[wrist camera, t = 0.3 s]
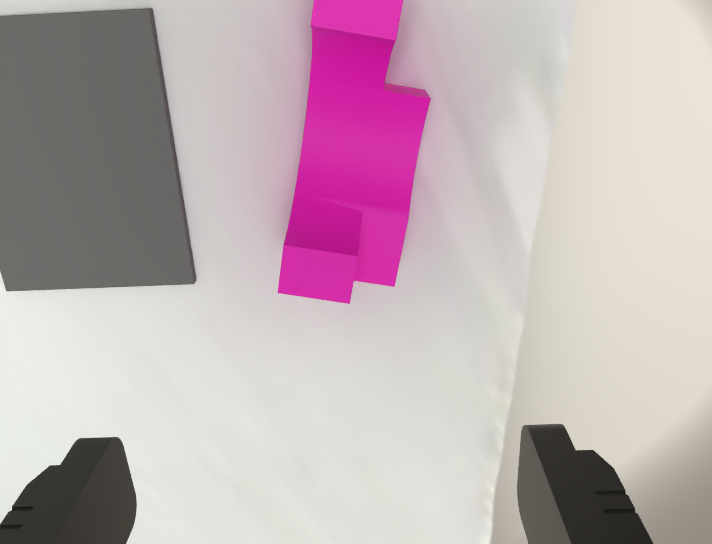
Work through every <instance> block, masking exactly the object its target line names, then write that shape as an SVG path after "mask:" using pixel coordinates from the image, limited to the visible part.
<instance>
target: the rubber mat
mask: <svg viewBox="0 0 712 544" xmlns="http://www.w3.org/2000/svg"><path fill="white" fill-rule="evenodd" d="M0 271H1V274H2V278H3V281H4V285H5V288H6V291H26V290H52V289H78V288H104V287H130V286H156V285H182V284H194V283H195V281H196V276H195V270H194V264H193V258H192V252H191V245H190V239H189V233H188V227H187V221H186V215H185V209H184V202H183V196H182V190H181V184H180V178H179V172H178V165H177V159H176V153H175V147H174V141H173V135H172V128H171V122H170V116H169V110H168V104H167V98H166V91H165V85H164V79H163V73H162V67H161V61H160V54H159V48H158V42H157V36H156V30H155V24H154V18H153V11H152V9H131V10H111V11H92V12H72V13H53V14H33V15H14V16H0Z"/></svg>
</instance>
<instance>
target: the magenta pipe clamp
mask: <svg viewBox="0 0 712 544" xmlns="http://www.w3.org/2000/svg"><path fill="white" fill-rule="evenodd" d="M402 4H403V0H314V4H313V12H312V20H311V27H312V60H311V73H310V84H309V94H308V103H307V112H306V120H305V128H304V136H303V143H302V150H301V157H300V163H299V170H298V176H297V182H296V188H295V194H294V199H293V205H292V210H291V215H290V220H289V225H288V229H287V234H286V238H285V242H284V246H283V254H282V262H281V270H280V278H279V286H278V293H282V294H289V295H295V296H302V297H309V298H315V299H322V300H329V301H335V302H342V303H348V304H350V299H351V293H352V287H353V282H354V281H361V282H367V283H374V284H380V285H387V286H393V287H394V286H395V282H396V277H397V272H398V267H399V262H400V257H401V252H402V248H403V243H404V238H405V233H406V228H407V223H408V218H409V209H410V200H411V193H412V186H413V179H414V173H415V167H416V162H417V156H418V151H419V146H420V141H421V136H422V132H423V127H424V123H425V119H426V115H427V111H428V107H429V103H430V99H431V98H430V97H429V95H428V94H427V92H426V91H425V90H421V89H415V88H409V87H404V86H398V85H392V84H386V83H384V82H385V77H386V73H387V68H388V64H389V60H390V56H391V52H392V49H393V46H394V43H395V41H396V38H397V32H398V26H399V21H400V15H401V9H402Z"/></svg>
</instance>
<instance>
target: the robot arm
mask: <svg viewBox="0 0 712 544" xmlns="http://www.w3.org/2000/svg"><path fill="white" fill-rule="evenodd" d="M518 469H519V470H518V482H517V494H518V505H519V511H520V516H521V520H522V523H523V526H524V530H525V533H526V537H527V540H528V543H529V544H653V542H652V540H651V538H650V536H649V534H648V533H647V531H646V529H645V527H644V525H643V523H642V521H641V519H640V518H639V515H638V514H637V513H635V508H634V506H633V504H632V502H631V500H630V498H629V496H628V495H626V493H625V489H624V487H623V485H622V483H621V481H620V479H619V477H618V475H617V474H616V472H615V470H614V468H613V467H612V466H611V465H609V464H608V463H607V462H606V461H605V460H604V459H603V458H602V457H600V456H599V455H598V454H597V453H596V452H595V451H593V450H577V451H576V450H575V448H574V446H573V444H572V441H571V439H570V437H569V435H568V433H567V431H566V429H565V427H564V426H563V425H562V424H546V425H524V426H523V428H522V431H521V442H520V456H519V468H518ZM136 506H137V503H136V494H135V490H134V486H133V482H132V478H131V474H130V470H129V466H128V462H127V458H126V454H125V450H124V446H123V443H122V441H121V440H120V439H119V438H118V437H106V438H80V439H78V440H77V441H76V442H75V443H74V444H73V446H72V447H71V449H70V451H69V452H68V454H67V455H66V457H65V458H64V460H63V462H62V463H61V465H52V466H49V467H48V468H47V469H45V470H44V471H43V472H42V473H41V474H39V475H38V476H37V477H36V478H35V479H33V480H32V481H31V482H30V483H29V484H27V486H26V487H25V489H24V490H23V491H22V493H21V494H20V496H19V497H18V499H17V500H16V502H15V503H14V505H13V506H12V511H9V512H8V514H7V515H6V517H5V518H4V520H3V521H2V522H1V524H0V544H126V542H127V540H128V538H129V535H130V533H131V531H132V528H133V525H134V522H135V517H136Z"/></svg>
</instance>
